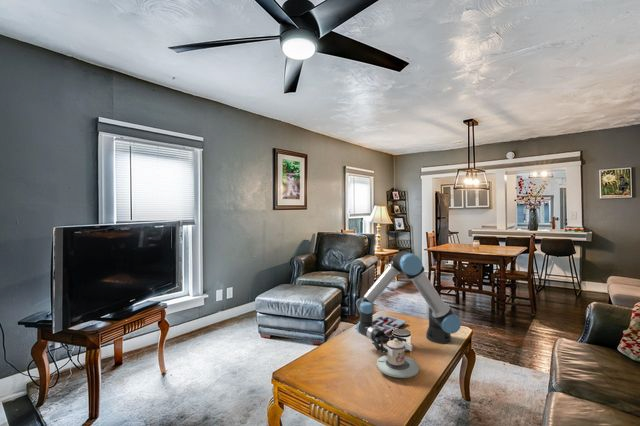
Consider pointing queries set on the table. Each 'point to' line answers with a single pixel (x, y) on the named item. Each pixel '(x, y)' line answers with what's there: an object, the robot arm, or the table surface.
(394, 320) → the maze game
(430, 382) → the table surface
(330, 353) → the table surface
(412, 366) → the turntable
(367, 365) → the table surface
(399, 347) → the teacup with lid
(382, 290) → the robot arm
